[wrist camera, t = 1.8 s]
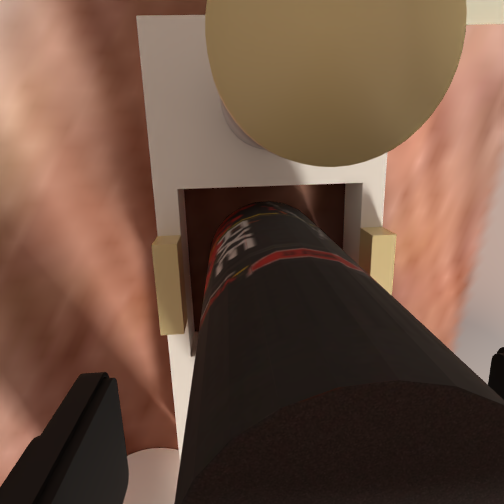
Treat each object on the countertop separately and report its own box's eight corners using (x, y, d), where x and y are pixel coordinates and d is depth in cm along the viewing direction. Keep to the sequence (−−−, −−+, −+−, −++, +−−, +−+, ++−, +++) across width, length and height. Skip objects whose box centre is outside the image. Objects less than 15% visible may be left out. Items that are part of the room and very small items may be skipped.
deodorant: (248, 178, 19) (321, 298, 4) (345, 239, 20) (651, 489, 6) (188, 276, 20) (92, 623, 6) (283, 328, 21) (404, 724, 7)
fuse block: (148, 33, 17) (-33, -222, 5) (373, 30, 17) (686, -205, 6) (185, 432, 23) (140, 749, 11) (352, 420, 23) (482, 710, 11)
